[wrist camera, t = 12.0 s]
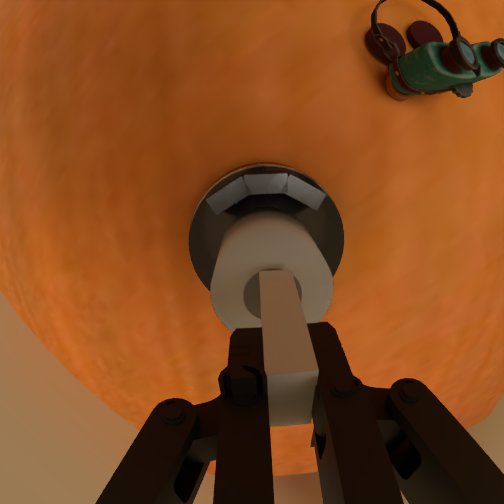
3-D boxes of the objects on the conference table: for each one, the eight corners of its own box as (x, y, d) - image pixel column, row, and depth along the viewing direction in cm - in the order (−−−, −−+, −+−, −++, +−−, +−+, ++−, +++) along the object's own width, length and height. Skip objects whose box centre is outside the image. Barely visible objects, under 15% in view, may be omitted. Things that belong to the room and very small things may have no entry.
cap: (216, 209, 19) (202, 241, 14) (312, 204, 19) (337, 233, 14) (225, 293, 22) (217, 347, 16) (310, 288, 22) (329, 340, 16)
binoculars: (472, -36, 7) (537, 86, 9) (416, 10, 17) (459, 101, 19) (378, -52, 8) (462, 94, 10) (338, 16, 18) (386, 117, 20)
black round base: (190, 166, 22) (173, 174, 17) (331, 159, 22) (355, 166, 17) (205, 292, 26) (195, 328, 21) (328, 285, 26) (344, 319, 21)
